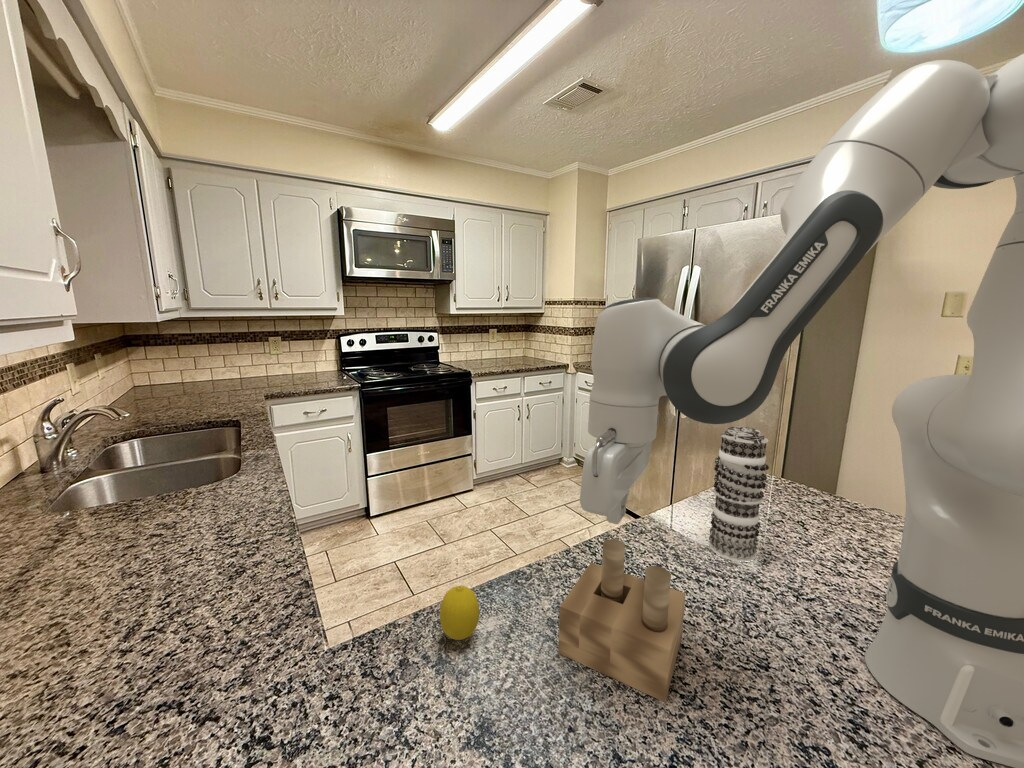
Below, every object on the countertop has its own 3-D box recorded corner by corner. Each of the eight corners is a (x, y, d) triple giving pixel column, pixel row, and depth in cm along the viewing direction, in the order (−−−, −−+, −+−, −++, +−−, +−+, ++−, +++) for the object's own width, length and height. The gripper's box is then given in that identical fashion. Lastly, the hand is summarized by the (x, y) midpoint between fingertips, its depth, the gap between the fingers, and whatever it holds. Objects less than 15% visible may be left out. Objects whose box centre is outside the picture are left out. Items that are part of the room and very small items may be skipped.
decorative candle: (758, 546, 84) (771, 427, 80) (759, 569, 76) (774, 438, 72) (708, 534, 88) (719, 421, 84) (704, 555, 80) (716, 431, 76)
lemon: (472, 657, 55) (472, 602, 54) (433, 649, 56) (433, 596, 55) (483, 627, 60) (484, 577, 59) (448, 621, 61) (447, 572, 60)
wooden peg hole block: (681, 637, 59) (689, 547, 57) (665, 702, 49) (674, 595, 47) (589, 602, 66) (593, 521, 64) (558, 652, 56) (561, 558, 54)
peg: (624, 619, 59) (628, 542, 58) (618, 633, 57) (622, 553, 55) (603, 611, 61) (606, 536, 59) (596, 624, 58) (599, 546, 57)
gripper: (623, 445, 44) (616, 563, 46) (661, 411, 61) (654, 498, 63) (569, 435, 47) (564, 546, 49) (620, 406, 65) (614, 489, 67)
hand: (615, 519), depth 57 cm, fingers closed
